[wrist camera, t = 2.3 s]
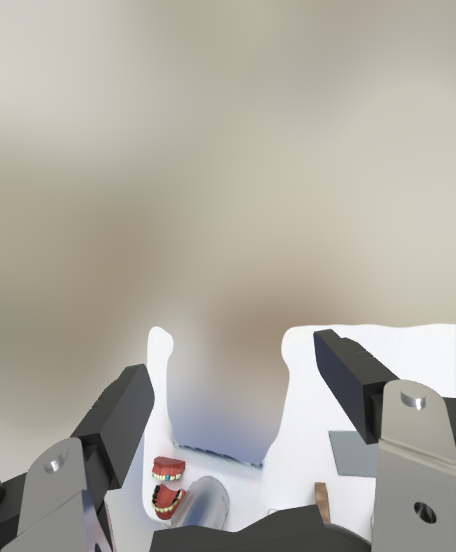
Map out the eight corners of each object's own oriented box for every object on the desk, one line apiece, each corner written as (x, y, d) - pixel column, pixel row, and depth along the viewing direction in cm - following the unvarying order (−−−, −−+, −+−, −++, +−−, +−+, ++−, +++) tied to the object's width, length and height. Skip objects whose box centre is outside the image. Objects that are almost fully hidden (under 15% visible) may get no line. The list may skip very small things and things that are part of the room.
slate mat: (338, 473, 44) (338, 474, 44) (328, 430, 46) (328, 431, 45) (421, 478, 40) (422, 480, 40) (408, 431, 41) (409, 432, 41)
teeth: (170, 471, 51) (173, 529, 49) (185, 453, 57) (188, 504, 55) (142, 464, 54) (144, 518, 53) (159, 447, 60) (161, 495, 58)
